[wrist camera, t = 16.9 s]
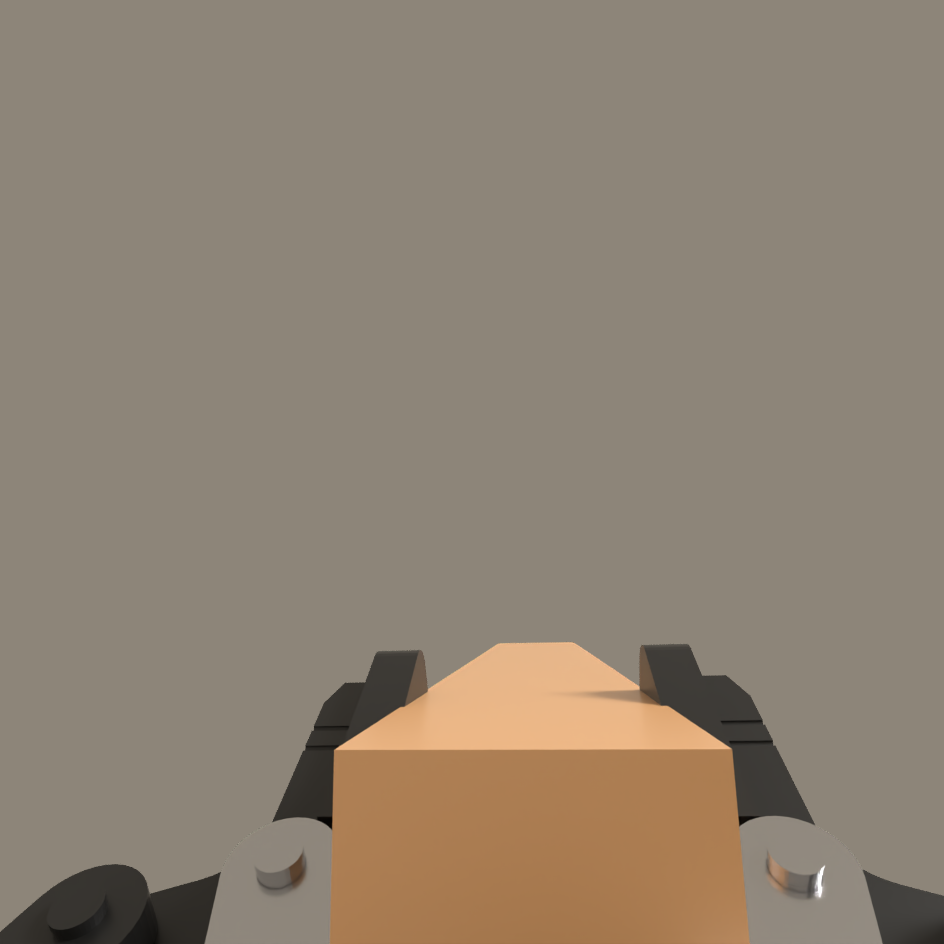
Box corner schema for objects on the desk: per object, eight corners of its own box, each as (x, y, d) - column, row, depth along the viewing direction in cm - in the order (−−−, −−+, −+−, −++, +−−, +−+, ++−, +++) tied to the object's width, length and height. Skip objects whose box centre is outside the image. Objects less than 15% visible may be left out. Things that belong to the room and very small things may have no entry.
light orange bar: (767, 1148, 6) (732, 750, 6) (325, 1129, 6) (334, 750, 6) (576, 707, 33) (573, 642, 33) (500, 708, 33) (498, 643, 34)
